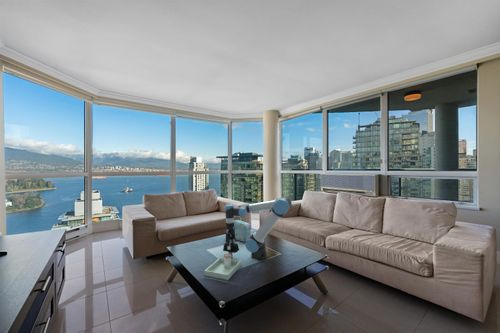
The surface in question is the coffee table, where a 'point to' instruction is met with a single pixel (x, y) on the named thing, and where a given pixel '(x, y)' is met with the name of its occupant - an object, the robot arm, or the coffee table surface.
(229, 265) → the jar
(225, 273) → the tote
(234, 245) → the sculpture
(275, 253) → the coffee table surface
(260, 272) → the coffee table surface
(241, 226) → the lunch box
